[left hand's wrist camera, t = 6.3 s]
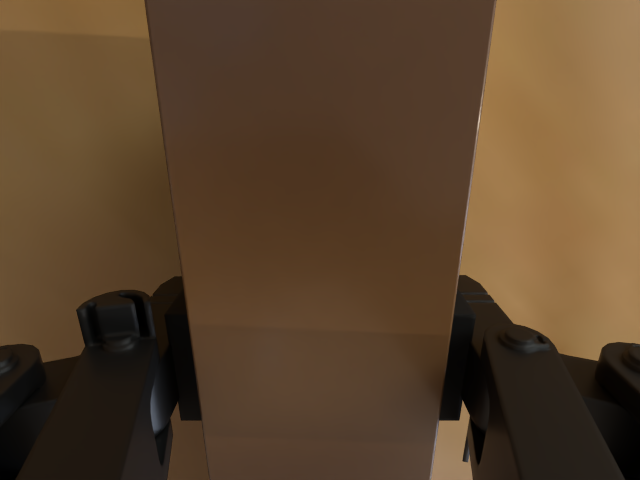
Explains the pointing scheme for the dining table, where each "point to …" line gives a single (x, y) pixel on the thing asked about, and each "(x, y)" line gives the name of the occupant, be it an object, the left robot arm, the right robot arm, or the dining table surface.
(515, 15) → the dining table surface
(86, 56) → the dining table surface
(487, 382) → the left robot arm
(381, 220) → the post
